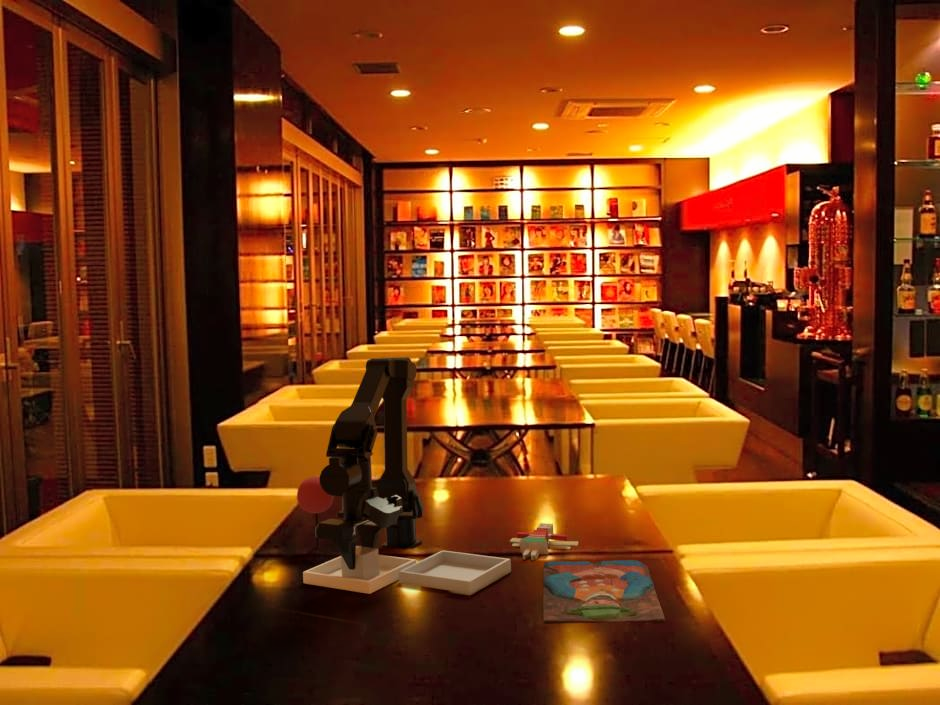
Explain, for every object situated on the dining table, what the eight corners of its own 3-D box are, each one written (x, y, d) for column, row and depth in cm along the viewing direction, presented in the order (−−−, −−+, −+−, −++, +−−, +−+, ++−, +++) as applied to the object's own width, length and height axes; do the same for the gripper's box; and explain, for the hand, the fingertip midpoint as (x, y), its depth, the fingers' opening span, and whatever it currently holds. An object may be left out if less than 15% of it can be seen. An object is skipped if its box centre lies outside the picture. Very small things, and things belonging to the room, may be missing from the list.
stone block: (358, 571, 196) (357, 545, 195) (379, 574, 193) (378, 548, 193) (342, 578, 191) (340, 552, 191) (363, 581, 189) (362, 555, 188)
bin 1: (353, 563, 203) (352, 551, 202) (416, 572, 195) (416, 559, 195) (303, 585, 190) (302, 571, 189) (369, 595, 182) (369, 582, 182)
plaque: (647, 559, 193) (665, 613, 163) (647, 570, 193) (665, 626, 163) (543, 560, 195) (542, 614, 165) (543, 571, 195) (543, 627, 165)
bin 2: (442, 562, 201) (442, 550, 200) (510, 571, 193) (510, 559, 193) (399, 584, 188) (398, 571, 187) (470, 595, 180) (469, 581, 180)
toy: (492, 547, 202) (513, 519, 216) (493, 565, 203) (514, 536, 217) (563, 552, 198) (580, 522, 211) (564, 570, 198) (581, 540, 212)
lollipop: (329, 552, 211) (325, 480, 210) (294, 551, 213) (290, 480, 212) (341, 542, 219) (338, 473, 218) (307, 541, 220) (304, 473, 219)
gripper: (361, 498, 179) (365, 585, 180) (419, 477, 195) (423, 557, 196) (311, 493, 184) (315, 577, 186) (372, 473, 200) (376, 551, 202)
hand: (360, 565), depth 192 cm, fingers closed on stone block, 5 cm apart
